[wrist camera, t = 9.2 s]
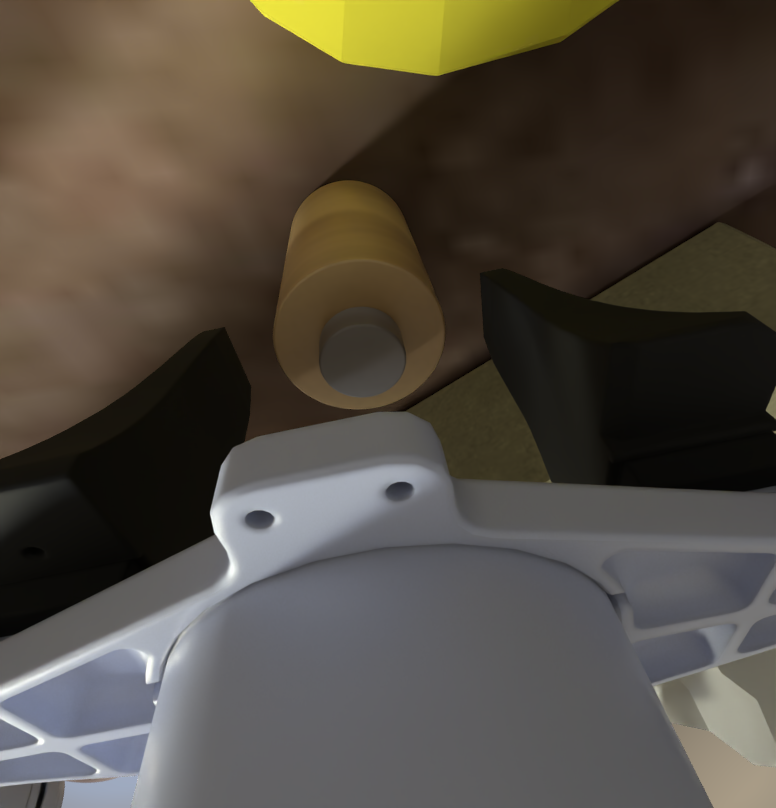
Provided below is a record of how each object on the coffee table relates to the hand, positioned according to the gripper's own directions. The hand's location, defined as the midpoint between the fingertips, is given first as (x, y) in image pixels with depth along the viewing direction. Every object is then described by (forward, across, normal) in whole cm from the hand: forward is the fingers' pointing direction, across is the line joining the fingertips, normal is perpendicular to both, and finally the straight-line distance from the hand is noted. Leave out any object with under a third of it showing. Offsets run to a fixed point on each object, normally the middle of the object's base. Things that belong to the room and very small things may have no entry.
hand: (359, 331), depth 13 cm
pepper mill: (+7, 0, 0) cm, 7 cm away
